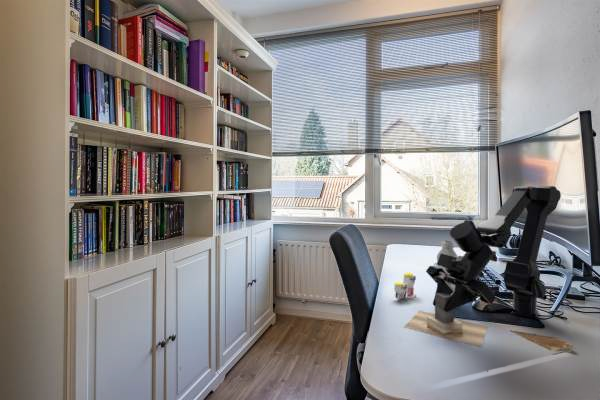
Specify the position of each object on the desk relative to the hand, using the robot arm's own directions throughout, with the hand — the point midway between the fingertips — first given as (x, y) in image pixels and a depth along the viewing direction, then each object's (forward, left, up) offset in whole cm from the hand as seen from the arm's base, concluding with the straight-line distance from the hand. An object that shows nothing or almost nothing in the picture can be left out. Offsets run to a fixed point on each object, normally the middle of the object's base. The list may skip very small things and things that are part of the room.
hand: (439, 308), depth 83 cm
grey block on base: (-1, +1, -6) cm, 6 cm away
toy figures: (-21, -15, -7) cm, 27 cm away
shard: (-7, +22, -7) cm, 24 cm away
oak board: (-3, +1, -6) cm, 7 cm away
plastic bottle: (-25, -3, -7) cm, 27 cm away
